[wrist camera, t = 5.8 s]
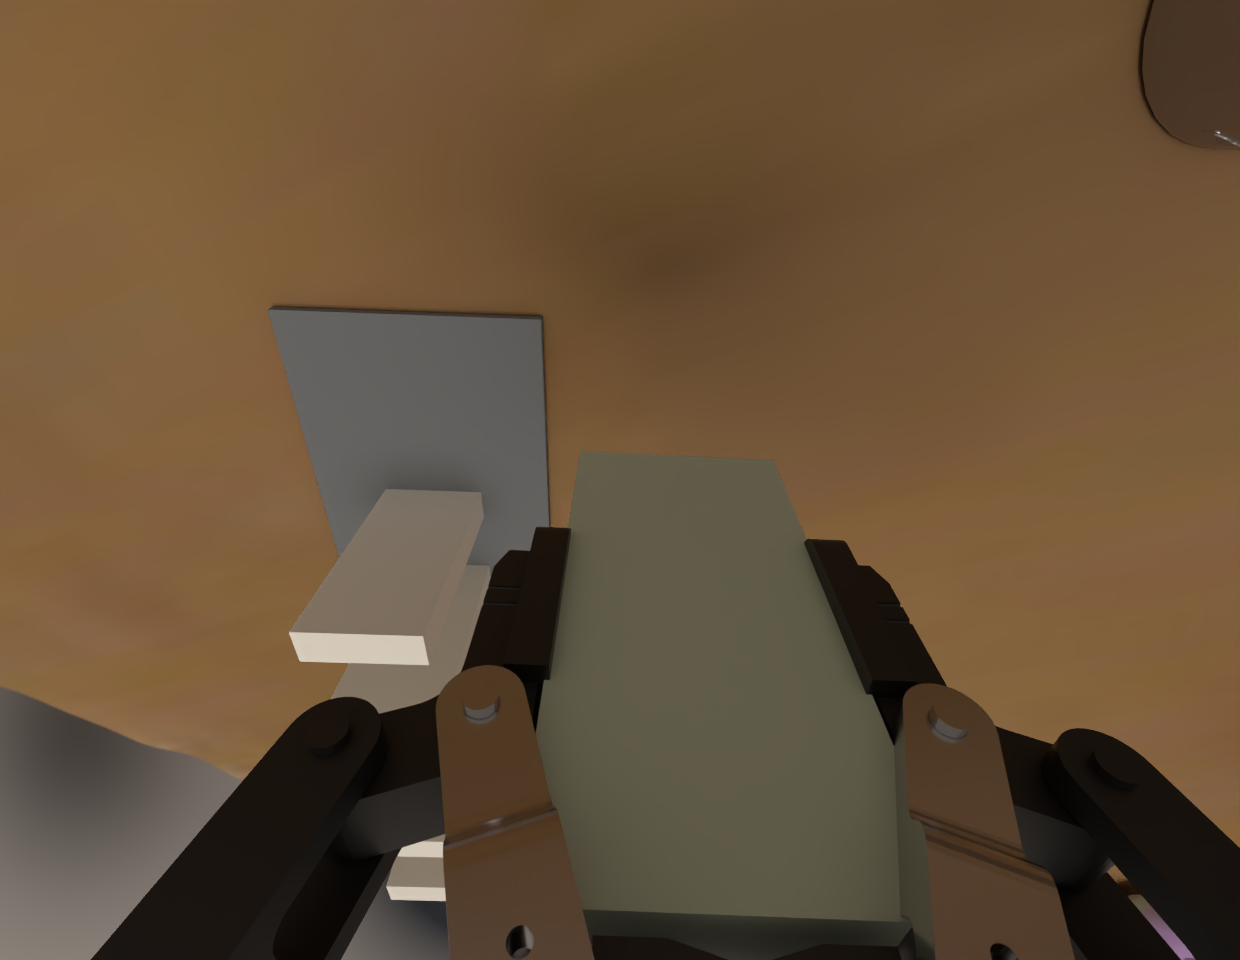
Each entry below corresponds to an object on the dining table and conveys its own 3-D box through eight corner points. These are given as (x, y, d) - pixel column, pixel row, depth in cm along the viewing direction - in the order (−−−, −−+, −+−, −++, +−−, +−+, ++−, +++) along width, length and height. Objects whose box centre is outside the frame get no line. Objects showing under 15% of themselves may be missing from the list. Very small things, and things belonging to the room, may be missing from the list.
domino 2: (401, 562, 32) (321, 716, 24) (489, 565, 32) (440, 720, 24) (406, 583, 33) (330, 739, 24) (491, 586, 33) (445, 743, 25)
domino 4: (580, 451, 15) (508, 906, 6) (773, 460, 15) (968, 924, 6) (579, 502, 15) (515, 963, 7) (762, 510, 15) (920, 980, 7)
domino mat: (273, 306, 25) (267, 309, 25) (542, 316, 25) (541, 319, 25) (403, 766, 43) (401, 772, 43) (559, 770, 44) (558, 776, 43)
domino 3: (437, 726, 40) (386, 886, 31) (507, 728, 40) (475, 888, 32) (440, 740, 41) (391, 899, 32) (509, 742, 41) (478, 901, 32)
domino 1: (385, 488, 30) (288, 632, 21) (481, 492, 30) (422, 636, 21) (391, 513, 30) (300, 661, 22) (484, 516, 30) (429, 665, 22)
